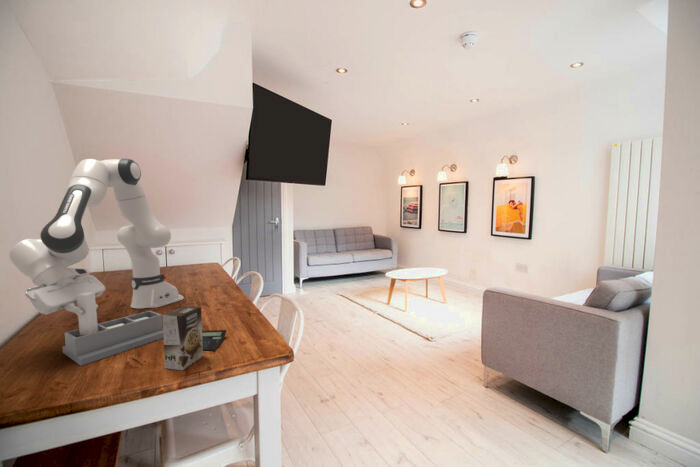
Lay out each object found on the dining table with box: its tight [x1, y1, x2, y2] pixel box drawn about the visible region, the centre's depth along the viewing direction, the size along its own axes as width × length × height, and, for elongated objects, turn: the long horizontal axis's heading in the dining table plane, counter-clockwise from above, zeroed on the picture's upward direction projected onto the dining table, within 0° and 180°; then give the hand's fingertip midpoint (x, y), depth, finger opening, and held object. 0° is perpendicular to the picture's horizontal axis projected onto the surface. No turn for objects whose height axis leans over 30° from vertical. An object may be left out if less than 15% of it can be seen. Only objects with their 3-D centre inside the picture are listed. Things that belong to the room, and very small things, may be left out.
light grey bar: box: [76, 292, 99, 335], centre depth 100 cm, size 3×3×13 cm
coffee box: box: [162, 305, 204, 371], centre depth 94 cm, size 9×6×16 cm
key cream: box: [106, 323, 125, 329], centre depth 107 cm, size 5×5×2 cm
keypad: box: [61, 310, 164, 367], centre depth 107 cm, size 25×16×8 cm, turn 147°
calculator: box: [202, 329, 227, 352], centre depth 107 cm, size 9×12×3 cm
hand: (89, 311), depth 100 cm, fingers closed on light grey bar, 3 cm apart
